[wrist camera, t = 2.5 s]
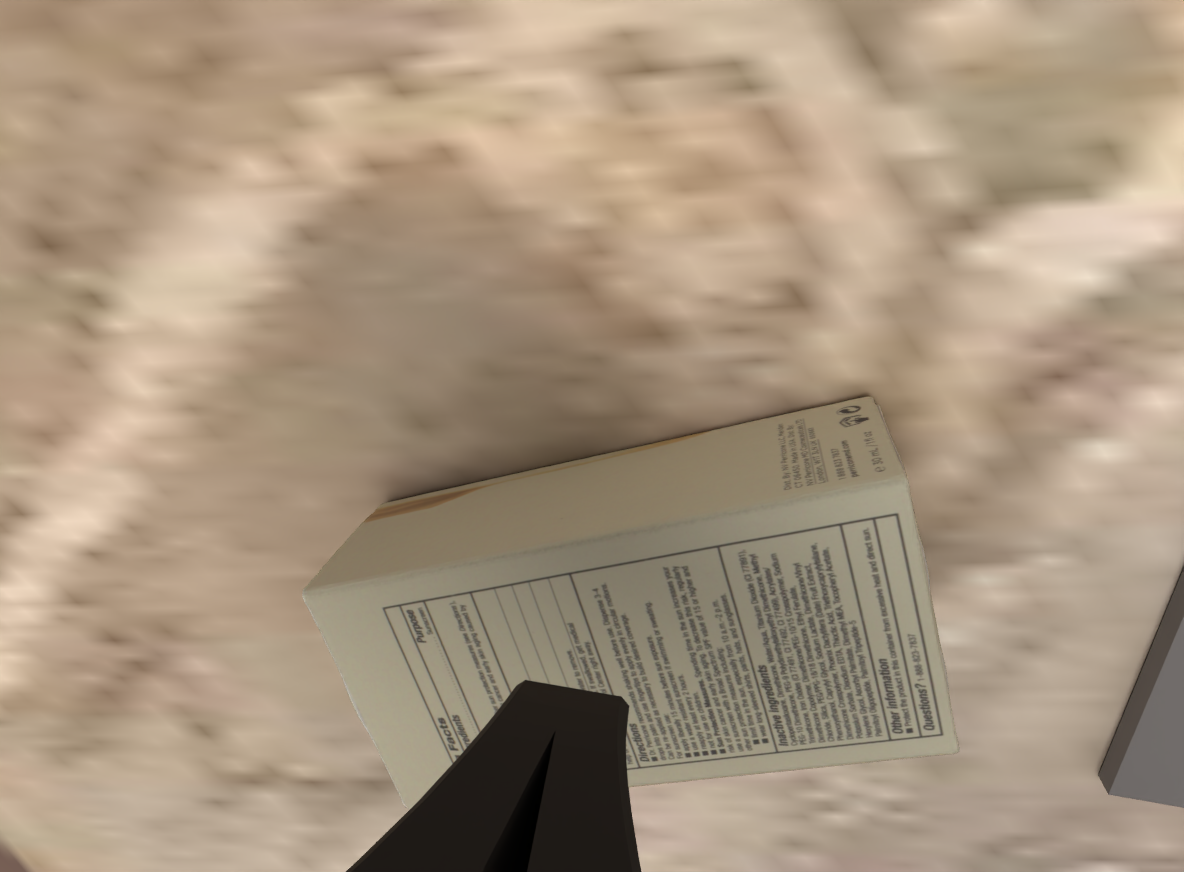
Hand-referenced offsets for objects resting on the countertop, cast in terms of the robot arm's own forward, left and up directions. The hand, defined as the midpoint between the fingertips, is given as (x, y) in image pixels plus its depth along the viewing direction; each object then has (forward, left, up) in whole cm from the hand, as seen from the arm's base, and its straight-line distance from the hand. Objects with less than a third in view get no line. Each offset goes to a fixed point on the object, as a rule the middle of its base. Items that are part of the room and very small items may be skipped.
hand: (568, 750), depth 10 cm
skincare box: (-1, -6, -7) cm, 9 cm away
